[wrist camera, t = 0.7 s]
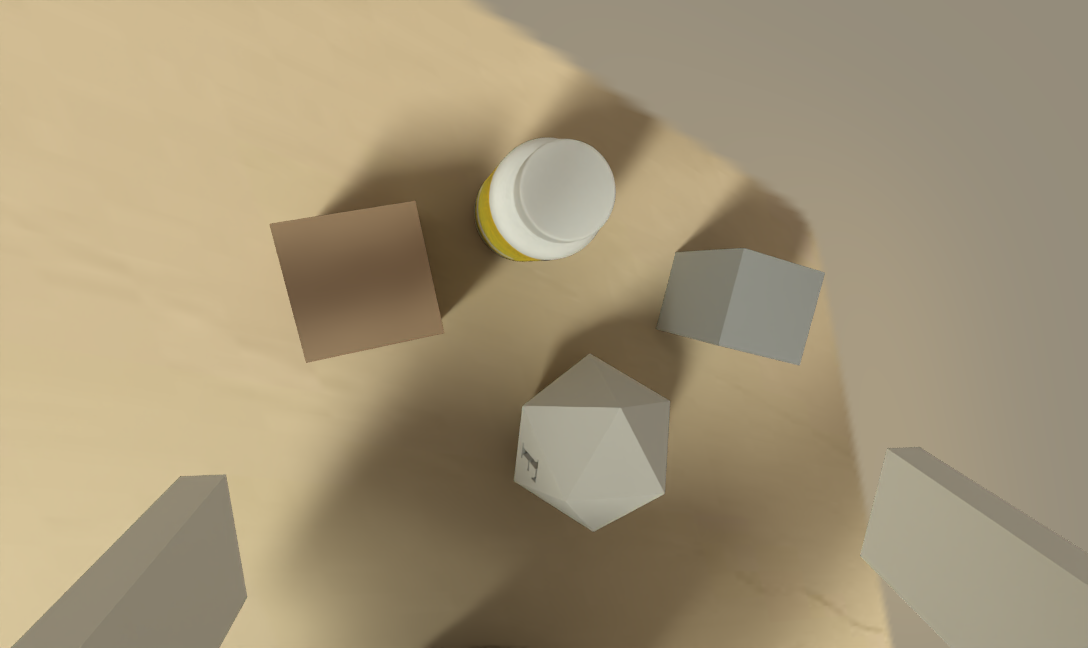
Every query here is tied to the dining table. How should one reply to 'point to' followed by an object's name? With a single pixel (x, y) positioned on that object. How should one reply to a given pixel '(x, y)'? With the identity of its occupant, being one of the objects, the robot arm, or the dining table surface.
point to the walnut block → (358, 279)
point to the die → (594, 444)
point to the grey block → (741, 301)
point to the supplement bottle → (545, 200)
